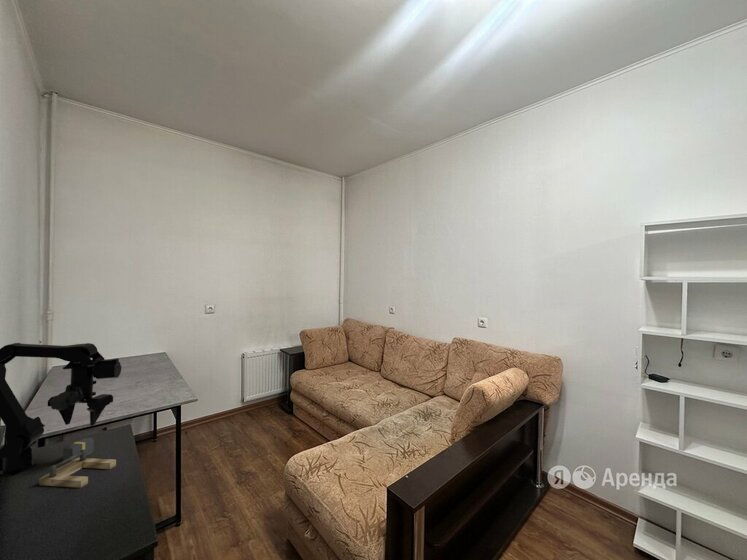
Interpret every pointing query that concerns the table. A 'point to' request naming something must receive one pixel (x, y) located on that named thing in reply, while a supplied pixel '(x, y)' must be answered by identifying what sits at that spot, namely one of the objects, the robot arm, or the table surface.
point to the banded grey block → (78, 448)
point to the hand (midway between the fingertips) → (80, 424)
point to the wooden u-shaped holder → (74, 470)
